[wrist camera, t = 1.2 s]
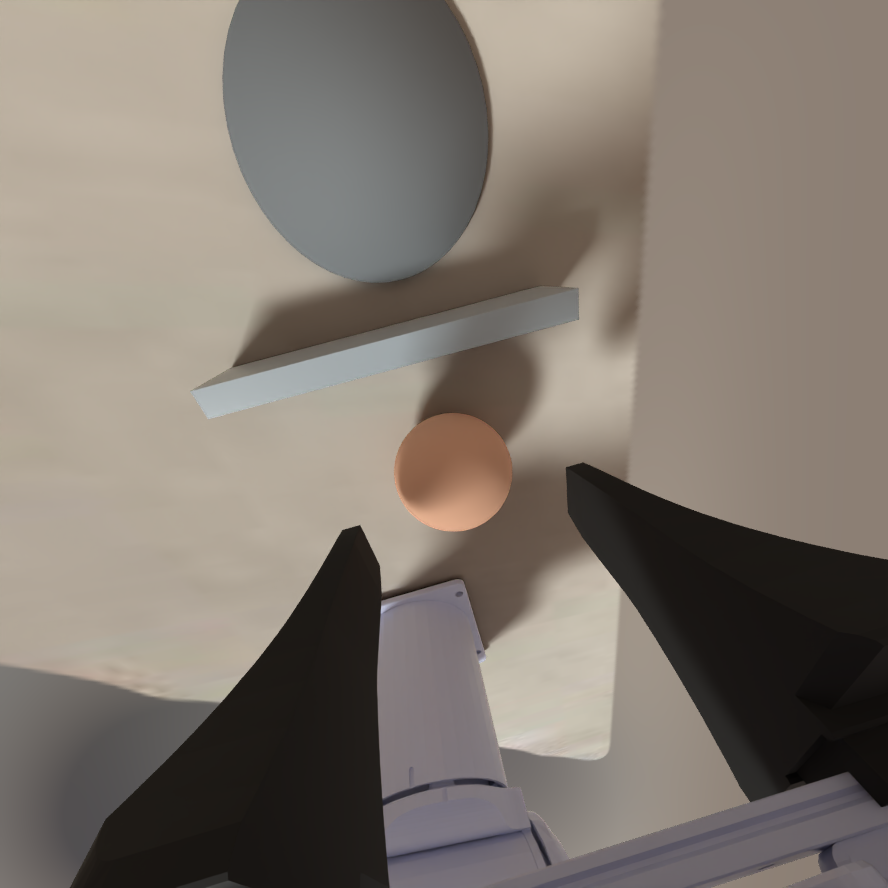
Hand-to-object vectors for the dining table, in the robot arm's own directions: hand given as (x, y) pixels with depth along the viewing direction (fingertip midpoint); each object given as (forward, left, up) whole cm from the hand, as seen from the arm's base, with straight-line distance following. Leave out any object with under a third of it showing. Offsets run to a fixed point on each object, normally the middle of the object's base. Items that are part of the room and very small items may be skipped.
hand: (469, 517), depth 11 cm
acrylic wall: (+5, +1, -6) cm, 8 cm away
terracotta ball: (0, 0, -6) cm, 6 cm away
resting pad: (+11, 0, -6) cm, 13 cm away
